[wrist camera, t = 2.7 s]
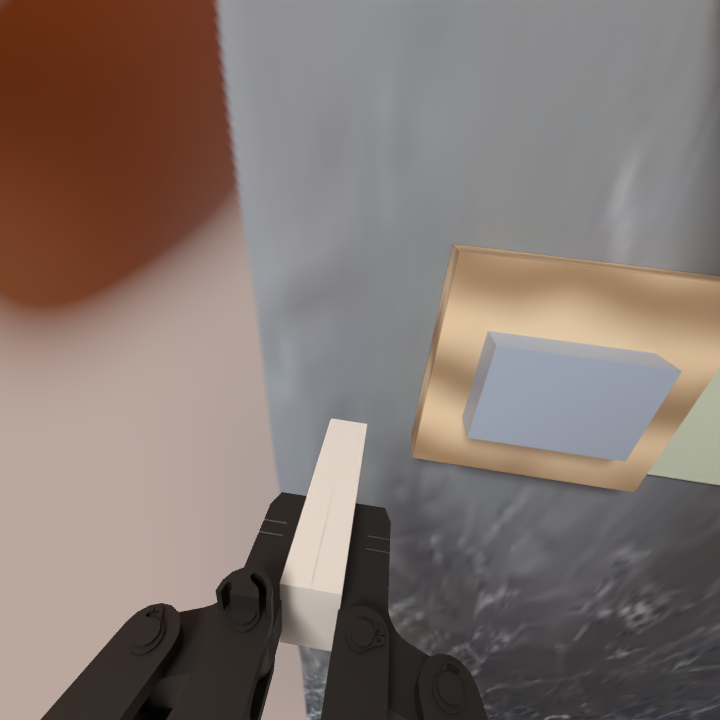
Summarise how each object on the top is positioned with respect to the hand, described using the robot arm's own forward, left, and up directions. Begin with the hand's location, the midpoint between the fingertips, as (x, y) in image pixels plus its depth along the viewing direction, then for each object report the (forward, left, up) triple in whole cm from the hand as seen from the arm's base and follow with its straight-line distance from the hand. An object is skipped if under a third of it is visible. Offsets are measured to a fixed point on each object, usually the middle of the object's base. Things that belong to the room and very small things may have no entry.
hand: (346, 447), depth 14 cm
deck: (0, +12, -10) cm, 15 cm away
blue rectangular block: (0, +11, -7) cm, 13 cm away
